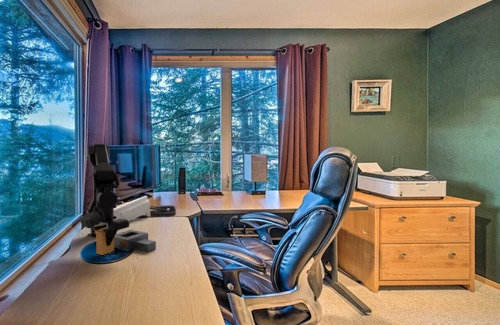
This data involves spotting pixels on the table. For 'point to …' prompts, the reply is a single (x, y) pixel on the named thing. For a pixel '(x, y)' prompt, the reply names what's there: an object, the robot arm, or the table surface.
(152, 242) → the ring lock bracket
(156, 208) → the black stapler
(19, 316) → the table surface
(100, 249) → the tan stepped block
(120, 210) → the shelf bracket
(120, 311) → the table surface
